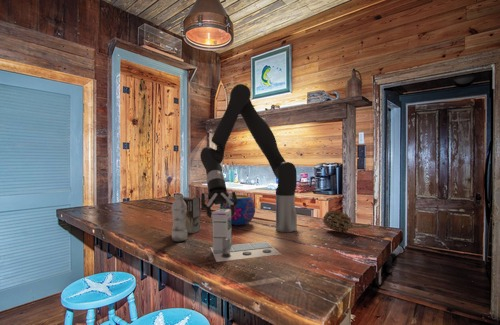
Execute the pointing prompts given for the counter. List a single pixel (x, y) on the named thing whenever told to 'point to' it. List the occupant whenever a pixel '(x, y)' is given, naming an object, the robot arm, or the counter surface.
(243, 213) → the ceramic pot
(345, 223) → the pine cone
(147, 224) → the counter surface
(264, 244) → the board
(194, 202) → the coffee box
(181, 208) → the plastic bottle
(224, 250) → the peg
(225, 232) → the syrup box
